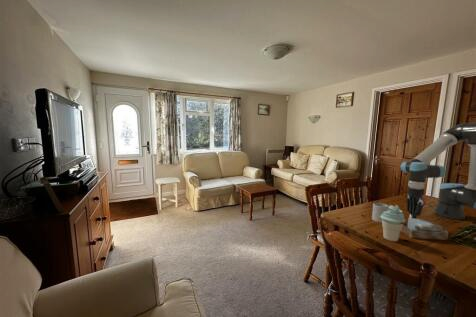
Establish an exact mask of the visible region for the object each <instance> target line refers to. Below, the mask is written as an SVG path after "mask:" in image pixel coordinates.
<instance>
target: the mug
mask: <svg viewBox="0 0 476 317" xmlns="http://www.w3.org/2000/svg"><path fill="white" fill-rule="evenodd" d="M387 208H389V205H388V204H386V203H382V202H373V204H372V212H371V213H372V215H371V220H372V221H374V222H376V223H380V224H382V218H381V217H380V216H381V215H382V213H384V211H385V212H387V210H386V209H387Z"/></svg>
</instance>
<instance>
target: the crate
mask: <svg viewBox="0 0 476 317" xmlns="http://www.w3.org/2000/svg"><path fill="white" fill-rule="evenodd" d="M417 224H427V225H434V224H433V223H431V222H430V221H428V220H425V219H424V218H419V219H413V218H409V217H408V218H407V227H408V228H409V229H415V225H417Z"/></svg>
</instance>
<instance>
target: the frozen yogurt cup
mask: <svg viewBox="0 0 476 317" xmlns="http://www.w3.org/2000/svg"><path fill="white" fill-rule="evenodd" d="M388 206H389V207H388V208H387V209H386V210H387V212H385V211H384V213H382V215H381V216H380V217H381V218H382V223H381V225H382V234H383V235H382V236H383V238H384V239H385V240H388V241H390V242H398V241H399V238H400V235H401V234H400V233H401V232H402V231H401V229H402V226H403V225H404V223H405V222H407V219H406V218H405V214H404V213H403V210H401V209H400V207H399V206H398V205H397V204H395V205H391V204H390V205H388Z"/></svg>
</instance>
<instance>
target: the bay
mask: <svg viewBox="0 0 476 317" xmlns="http://www.w3.org/2000/svg"><path fill="white" fill-rule="evenodd" d="M416 219H420V218H419V217H416ZM444 229H445V228H444V227H443V226H442V225H440V224H433V225H427V224H417V225H415V229H409V228H408V226H407V225H405V224H403V226H402V229H401V231H400V232H402V233H403V234H405V235H407V236H408V237H409V238H410V239H413V238H414V239H426V240H445V241H448V239H449V232H448V231H447V230H444Z"/></svg>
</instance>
